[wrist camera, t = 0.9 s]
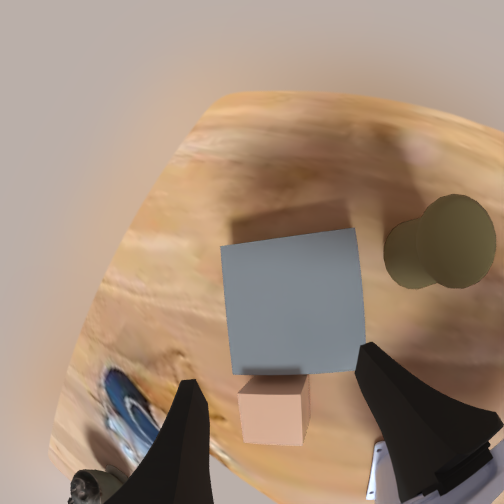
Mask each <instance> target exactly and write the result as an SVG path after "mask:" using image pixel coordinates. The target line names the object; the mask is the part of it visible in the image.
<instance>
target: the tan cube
mask: <svg viewBox="0 0 504 504" xmlns="http://www.w3.org/2000/svg"><path fill="white" fill-rule="evenodd" d="M237 396H238V403H239V411H240V419H241V426H242V434H243V441H244V443H255V444H268V445H291V446H303V443H304V440H305V436H306V433H307V429H308V425H309V421H310V395H309V374H299V375H254V376H253V377H252V379H251V380H250V381H249V382H248V383H247V384H246V385H245V386H244V387H243V388H242V389H241V390H240V391H239V392H238V393H237Z"/></svg>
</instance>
